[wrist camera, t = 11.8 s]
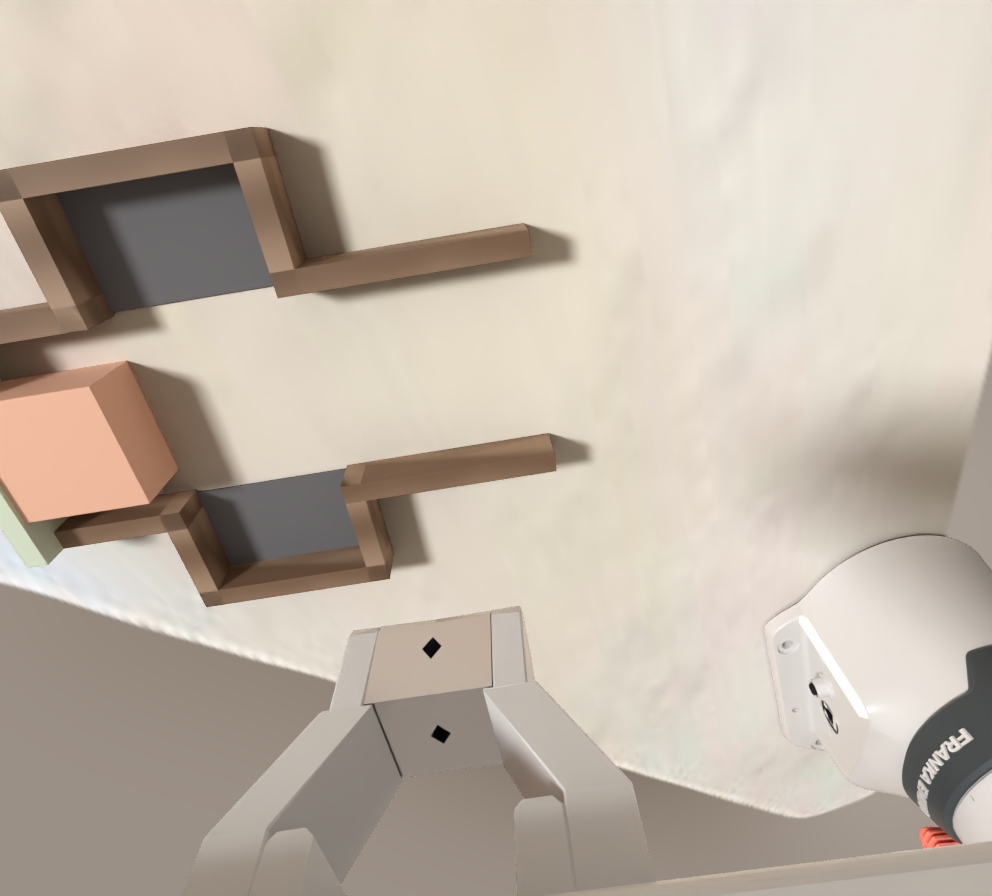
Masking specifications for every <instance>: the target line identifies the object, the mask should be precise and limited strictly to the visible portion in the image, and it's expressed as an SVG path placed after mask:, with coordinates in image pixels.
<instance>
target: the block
mask: <svg viewBox="0 0 992 896" xmlns="http://www.w3.org/2000/svg"><path fill="white" fill-rule="evenodd" d="M178 469H179V468H178V466H177V464H176V462H175V460H174V458H173V456H172V454H171V452H170V450H169V448H168V445H167V443H166V441H165V439H164V437H163V435H162V433H161V431H160V429H159V427H158V424H157V422H156V420H155V418H154V416H153V414H152V412H151V410H150V408H149V406H148V404H147V401H146V399H145V397H144V395H143V393H142V391H141V389H140V387H139V385H138V383H137V381H136V378H135V376H134V374H133V372H132V370H131V368H130V366H129V364H128V362H127V361H122V362H116V363H110V364H103V365H97V366H91V367H85V368H79V369H73V370H67V371H61V372H54V373H48V374H42V375H36V376H30V377H24V378H18V379H12V380H5V381H2V382H0V484H1V486H2V487H3V489H4V490H5V492H6V493H7V495H8V497H9V498H10V500H11V501H12V503H13V504H14V506H15V507H16V509H17V510H18V512H19V513H20V515H21V516H22V518H23V519H24V521H25V522H26V523H30V522H36V521H42V520H49V519H55V518H61V517H68V516H74V515H80V514H87V513H93V512H99V511H106V510H112V509H118V508H125V507H131V506H137V505H144V504H150V503H151V501H152V500H153V499H154V498H155V497H156V496H157V494H158V493H159V492H160V491H161V490H162V488H163V487H164V486H165V485H166V484H167V482H168V481H169V480H170V479H171V478H172V477H173V475H174V474H175V473H176V472H177V471H178Z"/></svg>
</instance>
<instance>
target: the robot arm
mask: <svg viewBox="0 0 992 896" xmlns="http://www.w3.org/2000/svg"><path fill="white" fill-rule="evenodd" d="M765 637H766V642H767V648H768V654H769V659H770V665H771V670H772V676H773V681H774V687H775V692H776V698H777V704H778V709H779V715H780V720H781V726H782V731H783V734H784V736H785V737H786V739H787V740H788V742H789V743H790V744H791V745H793V746H797V747H801V748H805V749H812V750H826V751H827V753H828V755H829V756H830V758H831V759H832V761H833V762H834V764H835V765H836V767H837V768H838V770H839V771H840V773H841V774H842V775H843V776H844V777H845V778H846V779H847V780H848V781H849V782H851V783H852V784H854V785H856V786H858V787H861V788H864V789H868V790H873V791H878V792H884V793H889V794H894V795H899V796H904V797H908V798H911V799H912V800H913V801H914V802H915V803H916V804H917V805H918V806H919V807H920V809H921V810H922V811H923V812H924V813H925V814H926V815H927V816H928V817H930V818H931V819H932V820H933V821H934V822H935V823H936V824H937V825H938V826H939V827H923V828H921V829H920V831H919V836H920V840H922V846H923V848H924V849H918V850H910V851H902V852H894V853H886V854H878V855H869V856H861V857H853V858H844V859H836V860H829V861H820V862H812V863H803V864H796V865H787V866H779V867H771V868H763V869H754V870H746V871H738V872H730V873H722V874H714V875H705V876H697V877H690V878H681V879H673V880H665V881H656V879H655V875H654V871H653V866H652V863H651V858H650V855H649V850H648V846H647V842H646V838H645V834H644V830H643V825H642V821H641V817H640V813H639V809H638V805H637V801H636V796H635V792H634V788H633V784H632V782H631V781H630V780H629V779H628V778H627V777H626V776H625V775H624V774H623V773H622V771H621V770H620V769H619V768H618V767H617V766H616V765H615V764H614V763H613V762H612V761H611V760H610V759H609V758H608V757H607V756H606V754H605V753H604V752H603V751H602V750H601V749H600V748H599V747H598V746H597V745H596V744H595V743H594V742H593V741H592V740H591V739H590V738H589V736H588V735H587V734H586V733H585V732H584V731H583V730H582V729H581V728H580V727H579V726H578V725H577V724H576V723H575V722H574V721H573V719H572V718H571V717H570V716H569V715H568V714H567V713H566V712H565V711H564V710H563V709H562V708H561V707H560V706H559V705H558V704H557V703H556V701H555V700H554V699H553V698H552V697H551V696H550V695H549V694H548V693H547V692H546V691H545V690H544V689H543V688H542V687H541V686H540V685H539V683H538V682H537V681H536V682H535V677H534V671H533V665H532V659H531V653H530V648H529V643H528V638H527V633H526V628H525V622H524V617H523V612H522V609H521V607H520V606H516V607H510V608H504V609H497V610H492V611H487V612H480V613H474V614H468V615H461V616H455V617H449V618H442V619H437V620H430V621H422V622H414V623H406V624H398V625H390V626H382V627H380V628H371V629H363V630H354V631H353V632H352V633H351V635H350V636H349V638H348V641H347V645H346V649H345V652H344V656H343V660H342V664H341V668H340V672H339V675H338V679H337V683H336V687H335V691H334V695H333V699H332V702H331V706H330V710H329V711H324V712H320V713H319V715H318V716H317V717H316V718H315V719H314V720H313V721H312V722H311V723H310V724H309V725H308V726H307V727H306V728H305V730H304V731H303V732H302V733H301V734H300V735H299V736H298V737H297V738H296V739H295V740H294V741H293V743H292V744H291V745H290V746H289V747H288V748H287V749H286V750H285V751H284V752H283V754H281V756H280V757H279V758H278V759H277V760H276V761H275V762H274V763H273V764H272V765H271V766H270V767H269V769H268V770H267V771H266V772H265V773H264V774H263V775H262V776H261V777H260V778H259V779H258V780H257V781H256V782H255V784H254V785H253V786H252V787H251V788H250V789H249V790H248V791H247V792H246V793H245V794H244V795H243V797H242V798H241V799H240V800H239V801H238V802H237V803H236V804H235V805H234V806H233V807H232V808H231V810H230V811H229V812H228V813H227V814H226V815H225V816H224V817H223V818H222V819H221V820H220V821H219V822H218V824H217V825H216V826H215V827H214V828H213V829H212V830H211V831H210V832H209V833H208V834H207V835H206V837H205V838H204V840H203V842H202V845H201V847H200V850H199V852H198V855H197V857H196V860H195V863H194V865H193V868H192V871H191V873H190V876H189V878H188V880H187V883H186V885H185V888H184V891H183V893H182V896H347V895H346V894H345V892H344V890H343V888H342V886H341V884H342V882H343V880H344V879H345V877H346V875H347V874H348V872H349V870H350V868H351V867H352V865H353V864H354V862H355V860H356V859H357V857H358V855H359V854H360V852H361V850H362V849H363V847H364V845H365V843H366V842H367V840H368V838H369V837H370V835H371V833H372V832H373V830H374V828H375V827H376V825H377V823H378V822H379V820H380V818H381V817H382V815H383V813H384V812H385V810H386V808H387V807H388V805H389V803H390V802H391V800H392V798H393V797H394V795H395V793H396V792H397V790H398V788H399V786H400V785H401V783H402V779H401V778H407V777H413V776H418V775H425V774H431V773H437V772H443V771H449V770H457V769H467V768H476V767H485V766H494V765H503V767H504V768H505V770H506V772H507V773H508V774H509V776H510V778H511V779H512V780H513V782H514V784H515V785H516V787H517V788H518V790H519V791H520V792H521V794H522V796H523V797H524V799H523V800H521V801H520V803H519V804H518V805H517V807H516V808H515V809H514V829H515V856H516V881H517V896H992V571H991V569H990V568H989V567H988V566H987V564H986V563H985V562H984V560H983V559H982V558H981V556H980V555H979V554H978V553H977V552H976V551H975V550H974V549H973V548H972V547H970V546H968V545H967V544H965V543H963V542H961V541H958V540H955V539H952V538H948V537H943V536H932V535H922V536H911V537H905V538H899V539H895V540H891V541H888V542H884V543H882V544H879V545H876V546H873V547H871V548H869V549H866V550H864V551H862V552H860V553H858V554H856V555H854V556H852V557H851V558H849V559H847V560H846V561H844V562H843V563H841V564H840V565H838V566H837V567H835V568H834V569H833V570H832V571H830V572H829V573H828V574H827V575H826V576H824V577H823V578H822V579H821V580H820V581H819V582H818V583H817V584H816V585H815V586H814V587H813V589H812V590H811V591H810V592H809V593H808V594H807V595H806V596H805V597H804V598H803V599H802V600H801V601H800V602H798V603H797V604H795V605H793V606H792V607H790V608H788V609H787V610H785V611H783V612H782V613H780V614H778V615H777V616H775V617H774V618H773V619H771V620H770V621H769V622H768V623H767V625H766V627H765Z"/></svg>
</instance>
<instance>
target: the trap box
mask: <svg viewBox="0 0 992 896" xmlns="http://www.w3.org/2000/svg"><path fill="white" fill-rule="evenodd" d="M0 212H1V214H2V215H3V217H4V219H5V221H6V223H7V225H8V227H9V229H10V231H11V233H12V235H13V237H14V238H15V240H16V242H17V244H18V246H19V248H20V250H21V252H22V254H23V256H24V258H25V260H26V262H27V263H28V265H29V267H30V269H31V271H32V273H33V275H34V277H35V279H36V281H37V283H38V285H39V286H40V288H41V290H42V292H43V294H44V296H45V298H46V300H47V302H48V303H42V304H36V305H30V306H24V307H18V308H12V309H6V310H0V344H4V343H10V342H16V341H22V340H28V339H34V338H40V337H46V336H53V335H59V334H65V333H71V332H77V331H83V330H88V329H90V328H92V327H94V326H96V325H98V324H100V323H101V322H103V321H105V320H107V319H109V318H111V317H113V316H114V314H113V312H118V311H124V310H130V309H136V308H142V307H148V306H154V305H160V304H166V303H172V302H178V301H184V300H190V299H196V298H202V297H208V296H214V295H220V294H226V293H232V292H238V291H244V290H250V289H256V288H262V287H269V286H274V288H275V291H276V294H277V297H278V298H282V297H288V296H294V295H300V294H306V293H312V292H318V291H324V290H331V289H337V288H343V287H349V286H355V285H361V284H367V283H373V282H379V281H385V280H391V279H397V278H403V277H409V276H415V275H421V274H427V273H433V272H439V271H445V270H451V269H457V268H463V267H469V266H476V265H482V264H488V263H494V262H500V261H506V260H512V259H518V258H524V257H530V256H532V255H531V246H530V237H529V230H528V229H527V227H526V226H525V225H524V223H522V224H516V225H510V226H504V227H498V228H492V229H486V230H480V231H474V232H468V233H462V234H456V235H450V236H444V237H438V238H432V239H426V240H420V241H414V242H408V243H402V244H396V245H390V246H384V247H378V248H372V249H366V250H360V251H354V252H348V253H342V254H336V255H330V256H324V257H318V258H312V259H306V257H305V253H304V250H303V247H302V243H301V240H300V236H299V233H298V230H297V226H296V223H295V220H294V216H293V213H292V209H291V206H290V203H289V199H288V196H287V193H286V189H285V186H284V182H283V179H282V176H281V172H280V169H279V166H278V162H277V159H276V155H275V152H274V149H273V145H272V142H271V139H270V135H269V132H268V128H263V127H248V128H242V129H236V130H230V131H224V132H218V133H213V134H207V135H201V136H195V137H189V138H184V139H178V140H172V141H166V142H160V143H154V144H149V145H143V146H137V147H131V148H125V149H120V150H114V151H108V152H102V153H96V154H90V155H85V156H79V157H73V158H67V159H61V160H55V161H50V162H44V163H38V164H32V165H26V166H21V167H15V168H9V169H3V170H0ZM0 382H2V380H1V379H0ZM552 471H556V462H555V453H554V450H553V447H552V443H551V440H550V437H549V433H548V434H541V435H535V436H529V437H522V438H516V439H510V440H504V441H497V442H491V443H485V444H478V445H472V446H466V447H460V448H453V449H447V450H441V451H434V452H428V453H422V454H416V455H409V456H403V457H397V458H390V459H384V460H378V461H372V462H365V463H359V464H353V465H347V468H346V469H340V470H333V471H327V472H321V473H314V474H308V475H302V476H296V477H289V478H283V479H277V480H270V481H264V482H258V483H252V484H245V485H239V486H233V487H226V488H220V489H214V490H208V491H201V492H197V490H189V491H183V492H177V493H171V494H164V495H158V496H156V497H155V498H154V499H153V500H152V501H151V503H150V504H144V505H137V506H131V507H125V508H118V509H112V510H106V511H99V512H93V513H87V514H80V515H74V516H68V517H61V518H55V519H49V520H42V521H36V522H30V523H26V522H25V521H24V519H23V518H22V516H21V515H20V513H19V512H18V510H17V509H16V507H15V506H14V504H13V503H12V501H11V500H10V498H9V497H8V495H7V493H6V492H5V490H4V489H3V487H2V486H1V484H0V529H1V530H2V532H3V533H4V535H5V536H6V538H7V539H8V541H9V542H10V544H11V545H12V546H13V548H14V549H15V551H16V552H17V554H18V555H19V557H20V558H21V559H22V561H23V562H24V564H25V565H26V567H27V568H32V567H39V566H45V565H48V564H49V563H50V562H51V561H52V560H53V559H54V558H55V557H56V556H57V555H58V554H59V553H60V552H61V551H62V550H63V549H64V548H71V547H77V546H83V545H90V544H96V543H102V542H109V541H115V540H121V539H128V538H134V537H140V536H147V535H153V534H159V533H166V532H168V534H169V536H170V538H171V540H172V542H173V544H174V546H175V548H176V550H177V551H178V553H179V555H180V557H181V559H182V561H183V563H184V565H185V567H186V569H187V571H188V573H189V574H190V576H191V578H192V580H193V582H194V584H195V586H196V588H197V590H198V592H199V594H200V596H201V598H202V599H203V601H204V603H205V605H206V607H211V606H217V605H224V604H230V603H237V602H243V601H250V600H256V599H262V598H269V597H275V596H282V595H288V594H295V593H301V592H308V591H314V590H321V589H327V588H334V587H340V586H346V585H353V584H359V583H366V582H372V581H379V580H385V579H390V574H391V567H392V561H393V550H392V547H391V544H390V540H389V537H388V534H387V530H386V527H385V523H384V520H383V517H382V513H381V510H380V506H379V503H378V500H377V499H381V498H387V497H394V496H400V495H406V494H413V493H419V492H426V491H432V490H438V489H445V488H451V487H457V486H464V485H470V484H476V483H483V482H489V481H495V480H502V479H508V478H514V477H521V476H527V475H533V474H540V473H546V472H552Z"/></svg>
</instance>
